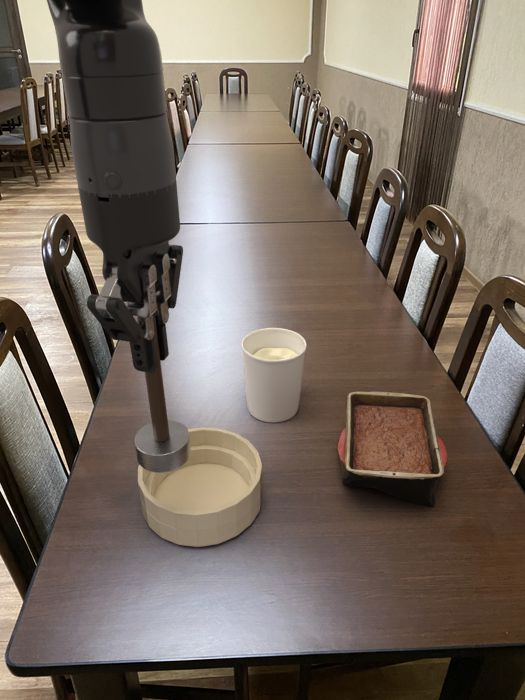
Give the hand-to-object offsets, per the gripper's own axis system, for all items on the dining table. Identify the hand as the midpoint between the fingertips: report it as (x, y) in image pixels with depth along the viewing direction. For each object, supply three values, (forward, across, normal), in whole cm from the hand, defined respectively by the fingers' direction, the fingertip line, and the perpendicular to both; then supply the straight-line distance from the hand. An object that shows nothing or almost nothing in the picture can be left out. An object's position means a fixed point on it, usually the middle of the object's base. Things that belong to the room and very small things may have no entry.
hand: (151, 363), depth 51 cm
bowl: (+26, -7, +1) cm, 26 cm away
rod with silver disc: (+11, 0, 0) cm, 11 cm away
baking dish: (+26, -20, +23) cm, 40 cm away
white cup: (+26, -29, +4) cm, 39 cm away
